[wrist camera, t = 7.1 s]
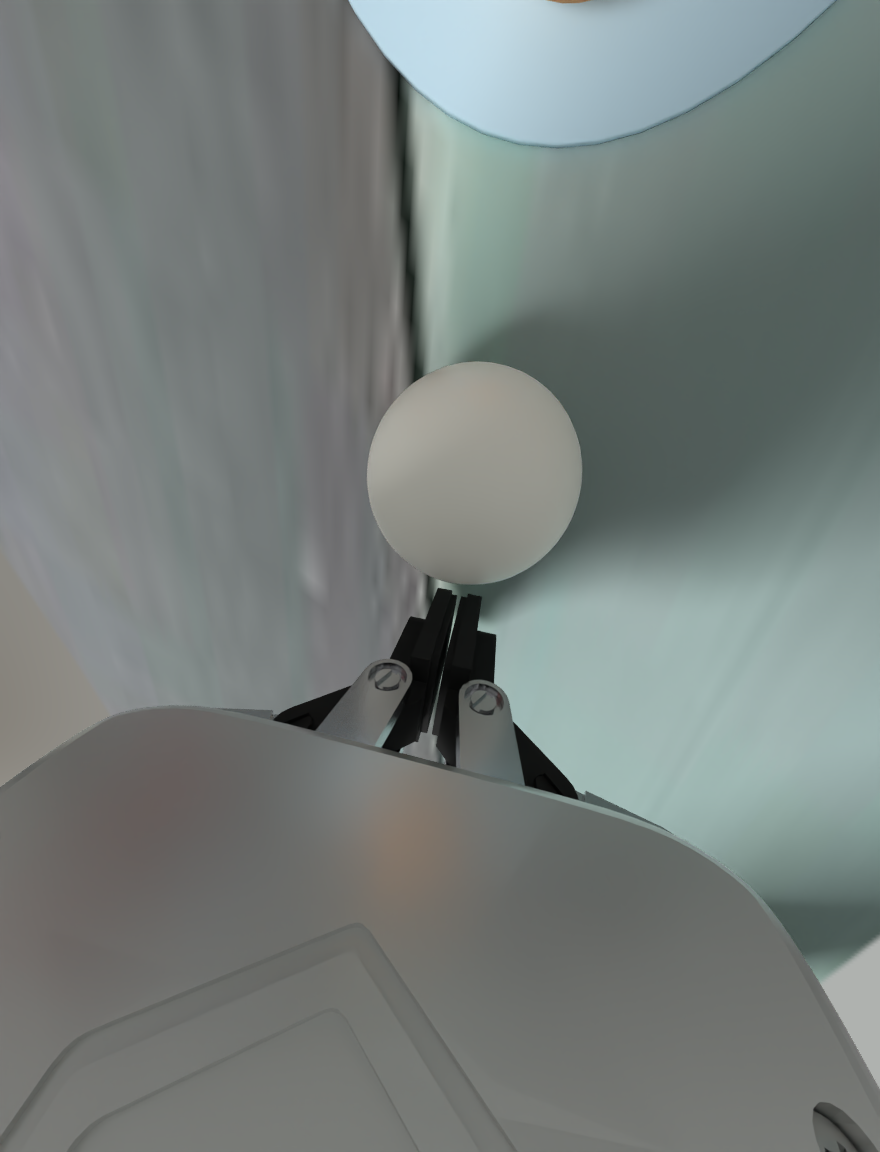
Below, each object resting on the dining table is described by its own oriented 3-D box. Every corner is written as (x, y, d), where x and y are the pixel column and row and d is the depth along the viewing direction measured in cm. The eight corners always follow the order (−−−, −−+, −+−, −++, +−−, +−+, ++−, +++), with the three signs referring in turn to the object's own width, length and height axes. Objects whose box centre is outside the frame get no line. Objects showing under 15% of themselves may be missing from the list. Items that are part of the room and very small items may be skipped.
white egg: (656, 561, 6) (610, 450, 10) (445, 301, 4) (490, 289, 8) (453, 652, 10) (479, 541, 14) (287, 525, 8) (373, 440, 12)
